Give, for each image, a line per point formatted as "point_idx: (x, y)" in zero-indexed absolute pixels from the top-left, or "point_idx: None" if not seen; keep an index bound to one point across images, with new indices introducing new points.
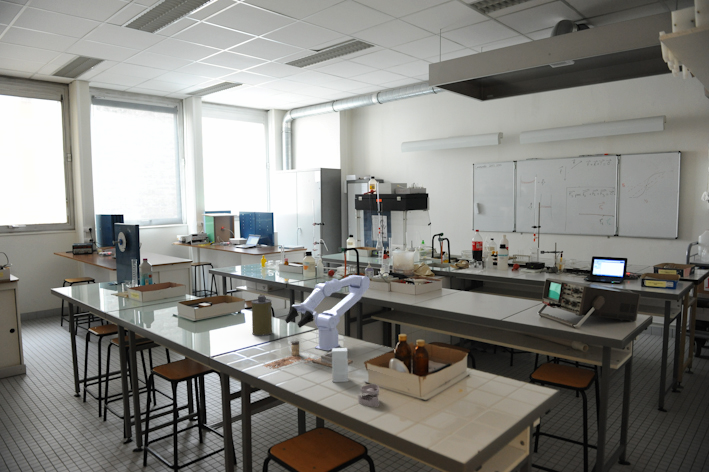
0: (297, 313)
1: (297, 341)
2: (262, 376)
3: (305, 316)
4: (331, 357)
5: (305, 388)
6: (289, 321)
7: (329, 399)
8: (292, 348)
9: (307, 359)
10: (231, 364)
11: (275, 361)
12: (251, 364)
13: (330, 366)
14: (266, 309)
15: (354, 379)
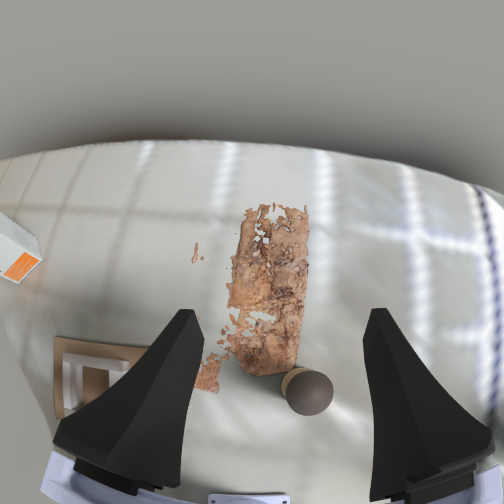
0: (378, 493)
1: (302, 405)
2: (226, 151)
3: (112, 390)
4: (77, 363)
5: (77, 172)
6: (367, 362)
7: (27, 172)
8: (305, 369)
9: (206, 368)
10: (393, 168)
11: (303, 265)
12: (350, 197)
13: (83, 341)
14: None
15: (7, 285)
